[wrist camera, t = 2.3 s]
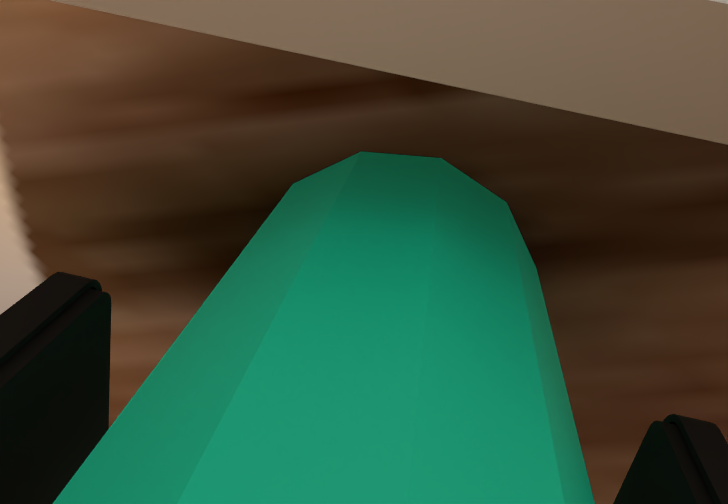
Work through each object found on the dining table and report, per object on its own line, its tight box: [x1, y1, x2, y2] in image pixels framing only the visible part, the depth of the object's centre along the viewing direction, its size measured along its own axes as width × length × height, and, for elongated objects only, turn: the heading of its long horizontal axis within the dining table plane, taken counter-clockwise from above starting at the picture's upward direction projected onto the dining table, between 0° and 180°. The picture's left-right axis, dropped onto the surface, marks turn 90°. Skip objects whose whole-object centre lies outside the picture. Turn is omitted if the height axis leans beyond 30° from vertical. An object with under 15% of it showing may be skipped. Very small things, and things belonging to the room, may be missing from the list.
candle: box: [53, 151, 595, 504], centre depth 8 cm, size 6×6×12 cm
